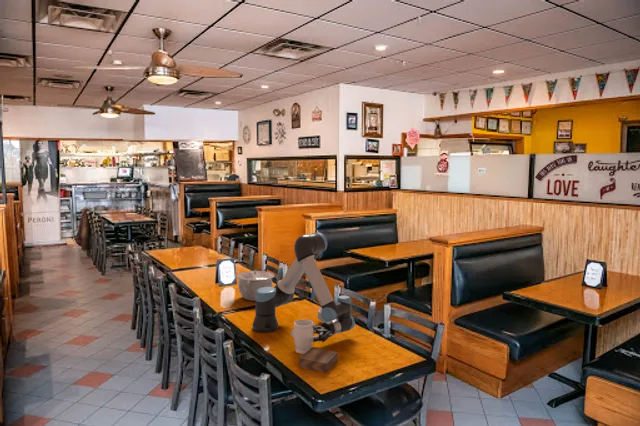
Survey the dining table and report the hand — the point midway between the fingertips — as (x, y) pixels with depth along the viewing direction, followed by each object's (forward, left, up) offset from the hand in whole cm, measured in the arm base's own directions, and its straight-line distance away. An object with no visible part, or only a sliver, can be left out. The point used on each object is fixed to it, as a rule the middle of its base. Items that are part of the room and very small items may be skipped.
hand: (299, 337), depth 231 cm
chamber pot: (-73, +70, -8) cm, 101 cm away
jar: (+1, +3, -8) cm, 9 cm away
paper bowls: (-4, +48, -8) cm, 48 cm away
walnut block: (+15, -8, -8) cm, 19 cm away
